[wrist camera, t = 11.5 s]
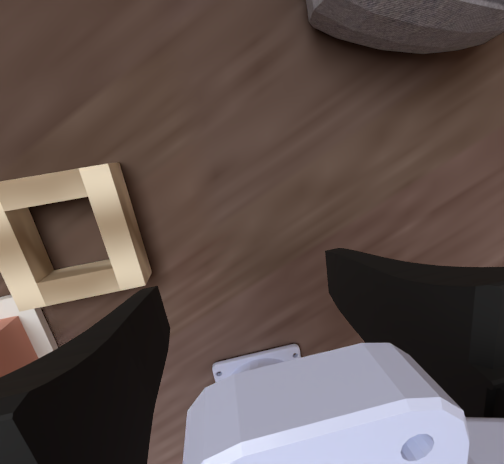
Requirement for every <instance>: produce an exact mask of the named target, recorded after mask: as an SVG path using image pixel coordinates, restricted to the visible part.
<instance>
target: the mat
mask: <svg viewBox="0 0 504 464" xmlns="http://www.w3.org/2000/svg"><path fill="white" fill-rule="evenodd" d="M14 316H18V317H19V319H20V321H21V323H22V325H23V327H24V329H25V331H26V333H27V335H28V337H29V340H30V342H31V344H32V346H33V348H34V350H35V352H36V354H37V356H38V358H41V357H42V356H44V355H46V354H48V353H50V352H52V351H54V350H56V349H57V348H58V346H57V344H56V341H55V339H54V337H53V335H52V332H51V330H50V328H49V326H48V324H47V321H46V319H45V317H44V315H43V313H42V310H41V308H35V309H30V310H25V311H20V312H19V310H18V308H17V305H16V303H15V301H14V299H13V297H12V295H8V296H3V297H0V319H4V318H9V317H14Z"/></svg>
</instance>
